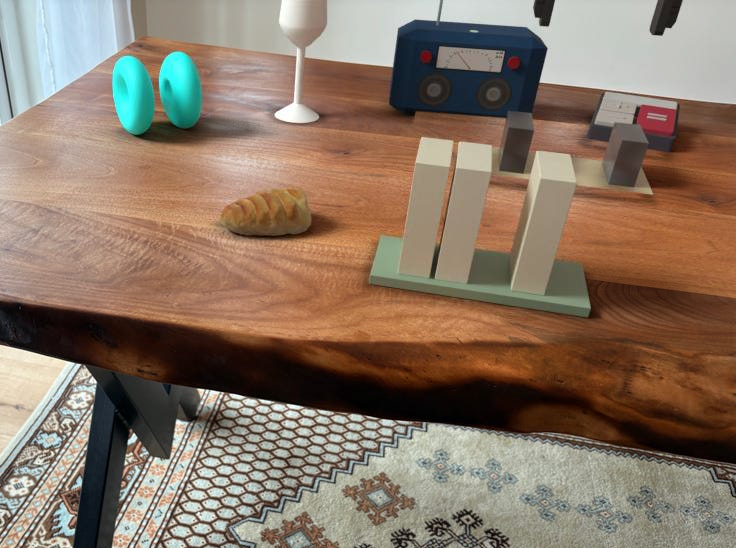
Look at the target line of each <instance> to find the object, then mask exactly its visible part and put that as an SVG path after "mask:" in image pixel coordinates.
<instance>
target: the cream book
mask: <svg viewBox="0 0 736 548" xmlns="http://www.w3.org/2000/svg"><path fill="white" fill-rule="evenodd" d="M535 153H536V155H535V159H534V163H533V167H532V171H531V175H530V179H528V183H527V186H526V191H525V195H524V199H523V202H522V207H521V209H520V215H519V219H518V223H517V226H516V230H515V234H514V238H513V242H512V247H511V251H510V253H511V254H510V277H511V291H517V292H523V293H530V294H537V295H545V291H546V288H547V285H548V281H549V278H550V274H551V271H552V267H553V264H554V260H556V257H557V254H558V250H559V246H560V243H561V241H562V240H561V239H562V236H563V233H564V230H565V226H566V223H567V219H568V216H569V212H570V209H571V206H572V202H573V198H574V195H575V193H576V192H575V191H576V188H577V186H578V185H577V180H576V176H575V172H574V168H573V163H572V159H571V157H572V156H571V154H570V153H562V152H553V151H544V150H536V151H535Z"/></svg>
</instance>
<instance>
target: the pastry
mask: <svg viewBox="0 0 736 548" xmlns="http://www.w3.org/2000/svg"><path fill="white" fill-rule="evenodd" d="M220 223H221V225H222V226H223V227H224V228H226V229H227V230H229V231H231V232H234V233H236V234H238V235H240V236H242V235H245V236H248V237H251V236H260V237H264V236H271V237H273V236H274V237H276V236H285V235H287V234H291V235H298V234H299V235H300V234H301V233H304V232H306V231H308V228H309V227H310V226H311V225H312V216H311V210H310V207H309V205H308V199H307V196H306V194H305V192H304V191H303V189H301V188H300V187H294V186H291V185H290V186H289V187H288V188H287V189H282V188H281V189H280V188H272V189H263V188H262V189H261V190H258V191H256V192H255V193H254V194H251V195H249V196H247V197H245V198H244V197H241V198H239V199H237V200H236V201H234V202H231V203H229V204H228V205H225V206H224V208H223V210H222V212H221V215H220Z"/></svg>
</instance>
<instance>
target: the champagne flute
mask: <svg viewBox="0 0 736 548" xmlns="http://www.w3.org/2000/svg"><path fill="white" fill-rule="evenodd" d="M278 17H279V18H278V23H279V26H280V29H281V31H282V32H283V34H284V36H285V37H286V38H287V39H288V40H289V41H290V43H291V44H292V45H293V46H295V47H296V60H295V61H296V63H295V77H294V78H295V79H294V80H295V81H294V94H293V102H292V103H290V104H288V105H286V106H285V107H283V108H281V109H279V110H277V111H276V112H275V113H274V117H275V118H276V119H277V120H280V121H283V122H286V123H293V124H307V123H313V122H316V121H318V120H319V119H320V115H319V114H318V113H317V112H316V111H314V110H313V109H311V108H310V107H308V106H307V105H305V104H304V103H303V91H304V76H305V74H304V73H305V62H306V48H308V47H309V46H311V45H312V44H313V43H314V42H315V41H317V39H319V37H321V36H322V34H323V33H324V32H325V30H326V28H327V26H328V0H281V3H280V9H279V16H278Z"/></svg>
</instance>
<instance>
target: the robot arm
mask: <svg viewBox="0 0 736 548" xmlns="http://www.w3.org/2000/svg"><path fill="white" fill-rule="evenodd" d="M555 2H556V0H534V2H533V6H532V9H533V15H534V18H535V19H538V25H539V27H545V28H546V27H547V28H548V27H550V25H551V20H552V15H553V11H554V6H555ZM683 2H684V0H657V1H656V4H655V8H654V11H653V14H652V17H651V22H650V25H649V33H650V34H651V35H652V36H658V37H662V36H663V35H664V33H665V31H666V29H672V28H673V26H674V25H675V24H676V23H677V20H678V18H679V14H680V11H681V8H682V5H683Z"/></svg>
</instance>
